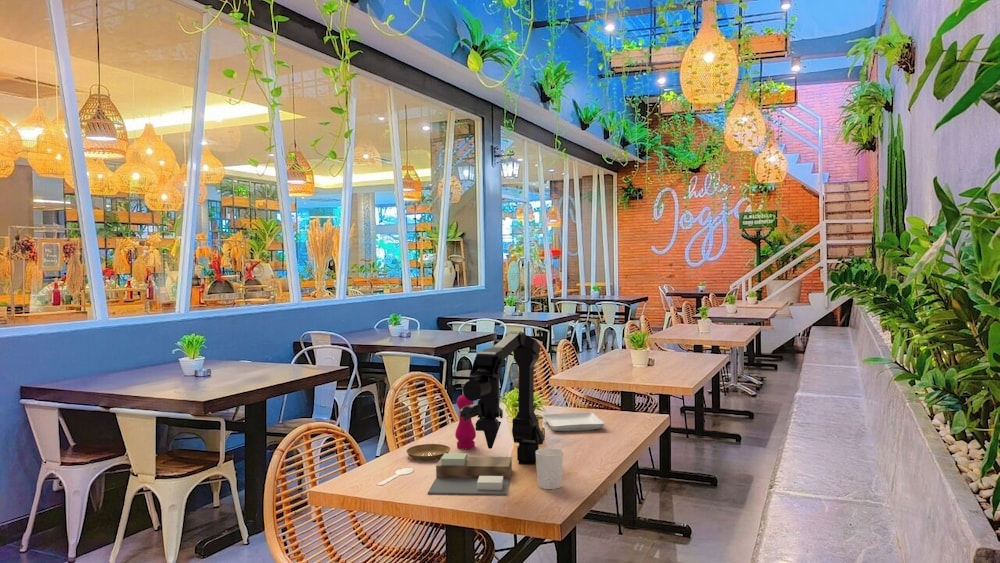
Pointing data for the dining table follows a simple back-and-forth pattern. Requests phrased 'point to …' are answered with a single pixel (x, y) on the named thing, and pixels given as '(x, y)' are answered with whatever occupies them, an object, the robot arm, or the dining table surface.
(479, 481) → the tile cream
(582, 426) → the salad plate
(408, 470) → the spoon
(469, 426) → the pepper mill
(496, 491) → the mat
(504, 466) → the deck
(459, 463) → the tile sage
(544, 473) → the white cup
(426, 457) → the plant saucer
